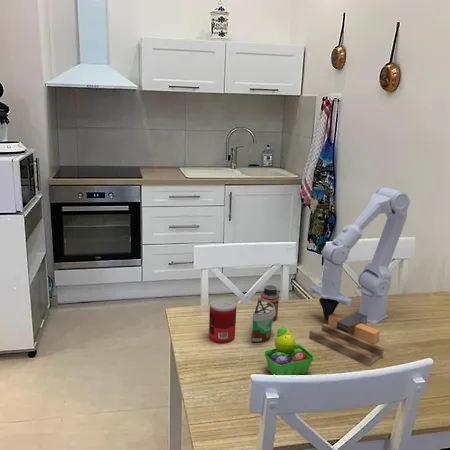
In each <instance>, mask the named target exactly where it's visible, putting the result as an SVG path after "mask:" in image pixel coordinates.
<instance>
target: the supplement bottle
mask: <svg viewBox="0 0 450 450" xmlns="http://www.w3.org/2000/svg"><path fill="white" fill-rule="evenodd" d="M263 290H264V291H262V292H261V294H260V298H261V299H265V300H268V301H270V302H271V303H273V305H274V307H275V311H276V315H275V316H274V317H273V321H272V323H273V322H276V321H277V319H278V312H279V311H278V310H279V303H280V302H279V301H280V299H279V298H280V295H279V293H277V287H276V286H274V285H272V284H271V285H270V284H269V285H265V286H264V288H263Z"/></svg>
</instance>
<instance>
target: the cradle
mask: <svg viewBox="0 0 450 450" xmlns="http://www.w3.org/2000/svg"><path fill="white" fill-rule="evenodd" d="M308 333H309V334H308V339H309V340H311V341H313V342H316V343H318V344H320V345H322V346H324V347H326V348H329V349H331V350H333V351H335V352H337V353H340V354H341V355H343V356H346V357H348V358H350V359H352V360H354V361H357V362H358V363H361V364H363V365H364V366H368V367H371V365H374V363H376V362H377V361H379V360H380V359H382V358H383V355H384V348H383V347H380V346H379V345H376V344H375V343H374V344H372V343H370V342H368V341H365V340H363V339H361V338H358V337H356V336H353V335H350V334H348V333H346V332H343V331H341V330H339V329H336V328H334V327H332V326H330V325H328V323H325V322H324V323H322V324H321V330H320V331H316V330H314V329H310V330H309V332H308Z"/></svg>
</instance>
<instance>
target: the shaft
mask: <svg viewBox="0 0 450 450" xmlns="http://www.w3.org/2000/svg"><path fill="white" fill-rule="evenodd" d="M345 317H346V316H343V315H341V314H339V313H336V312H334V313H333V314H331V315H329V320H328V321H327V325H329V326H332V327H334V328H337V322H338V321H340V320H341V319H343V318H345ZM380 333H381V330H379V329H377V328H374V327H372V326H368V325H367V324H366V325H364V324H361V323H357V324H355V326H354V334H353V336H355V337H357V338H360V339H362V340H365V341H367V342H369V343H372V344H374V345H375V343H377V342H378V341H379V340H380Z"/></svg>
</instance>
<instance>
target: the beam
mask: <svg viewBox="0 0 450 450" xmlns="http://www.w3.org/2000/svg"><path fill="white" fill-rule="evenodd" d="M358 312H359V311H355V312H353V313H351V314H350V315H347V316H344V317H345V318H343V319H341V320H340V321H338V322H337V328H336V329H339V330H341V331H343V332H346V333H348V334H350V335H353V334H354V326H355V324H357V323H361V324H364V325H366V326H367V323H368V321H367V316H366V315H363V314H361V313H358Z"/></svg>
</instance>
